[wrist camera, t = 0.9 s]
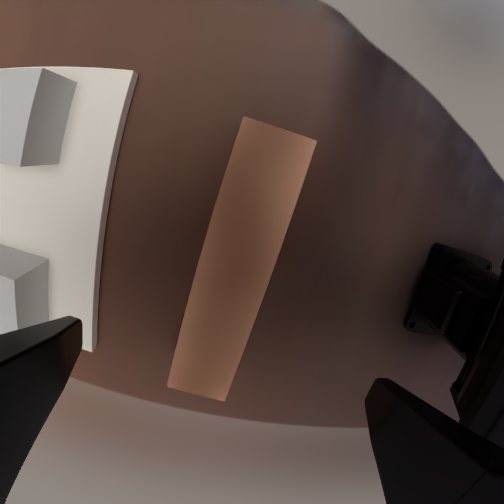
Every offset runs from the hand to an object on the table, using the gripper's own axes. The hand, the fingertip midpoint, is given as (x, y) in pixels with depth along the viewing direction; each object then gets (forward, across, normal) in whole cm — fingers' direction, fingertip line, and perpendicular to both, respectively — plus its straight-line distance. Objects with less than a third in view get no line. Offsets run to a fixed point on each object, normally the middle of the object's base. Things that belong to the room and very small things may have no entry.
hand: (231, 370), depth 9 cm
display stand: (+11, +14, 0) cm, 18 cm away
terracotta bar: (+11, 0, 0) cm, 11 cm away
